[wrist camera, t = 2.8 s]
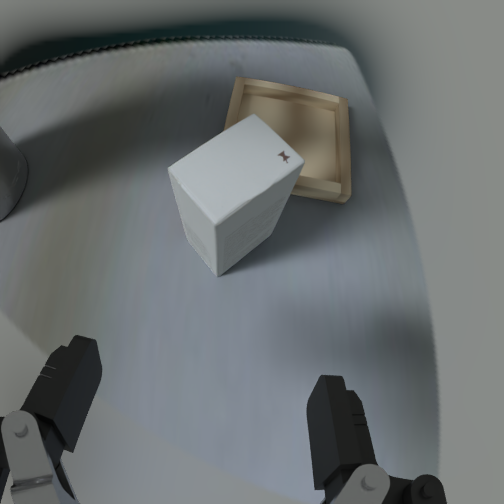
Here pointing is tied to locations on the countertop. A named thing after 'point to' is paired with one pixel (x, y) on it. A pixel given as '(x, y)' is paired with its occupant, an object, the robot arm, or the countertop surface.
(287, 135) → the holder
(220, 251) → the skincare box
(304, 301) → the countertop surface
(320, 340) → the countertop surface
